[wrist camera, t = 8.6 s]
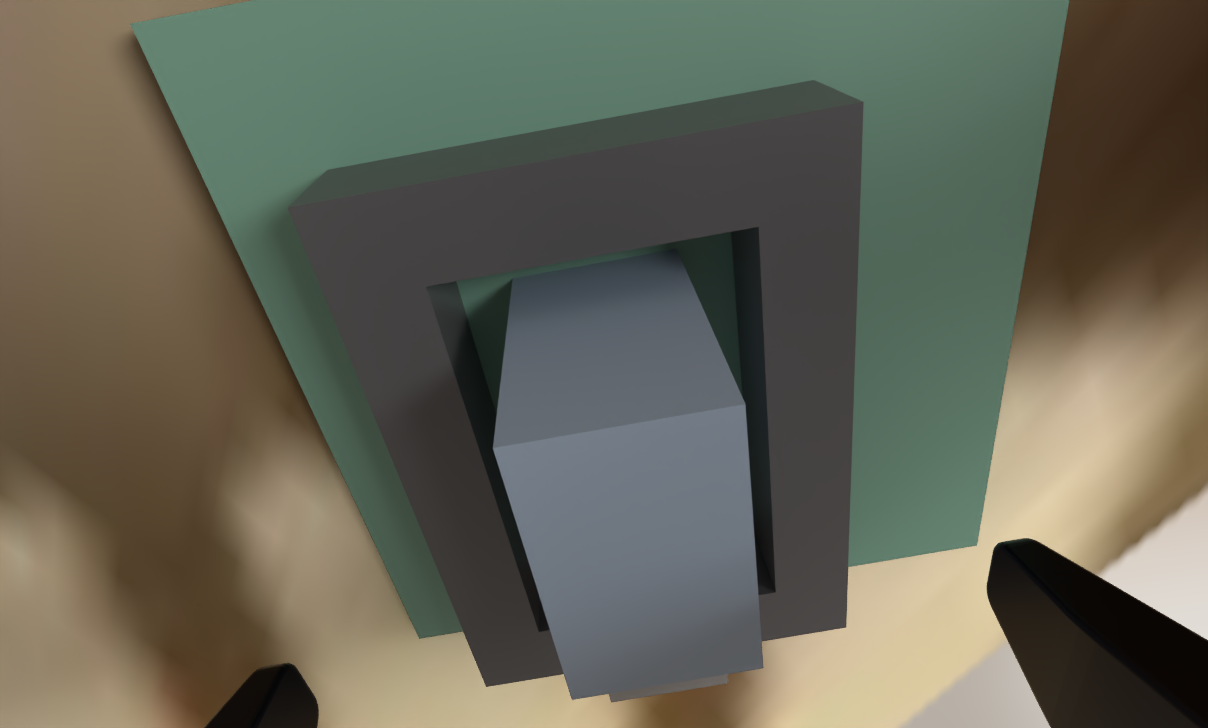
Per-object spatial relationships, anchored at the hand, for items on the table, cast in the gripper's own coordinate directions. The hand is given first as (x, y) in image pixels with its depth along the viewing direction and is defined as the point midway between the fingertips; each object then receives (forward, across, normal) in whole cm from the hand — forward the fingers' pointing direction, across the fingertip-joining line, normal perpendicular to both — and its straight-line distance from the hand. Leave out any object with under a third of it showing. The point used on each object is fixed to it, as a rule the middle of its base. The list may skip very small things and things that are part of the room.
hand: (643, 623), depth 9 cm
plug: (+6, 0, 0) cm, 6 cm away
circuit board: (+6, -1, 0) cm, 6 cm away
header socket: (+6, 0, 0) cm, 6 cm away
